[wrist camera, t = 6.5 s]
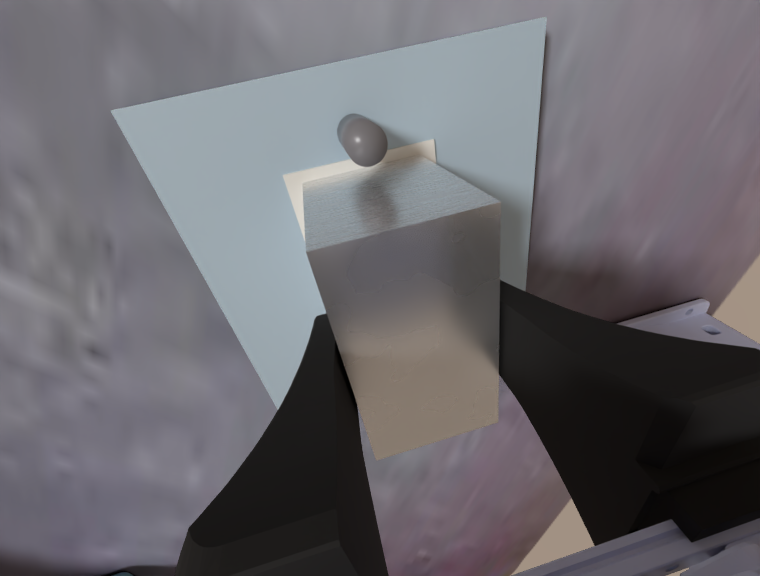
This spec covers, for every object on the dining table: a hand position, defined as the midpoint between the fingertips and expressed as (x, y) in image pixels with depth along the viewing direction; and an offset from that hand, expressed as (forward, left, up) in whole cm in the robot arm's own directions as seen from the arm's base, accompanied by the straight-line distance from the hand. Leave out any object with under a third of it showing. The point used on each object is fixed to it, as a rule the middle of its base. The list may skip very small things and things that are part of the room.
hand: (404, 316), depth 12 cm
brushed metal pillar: (0, 0, -4) cm, 4 cm away
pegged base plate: (0, 0, -5) cm, 5 cm away
